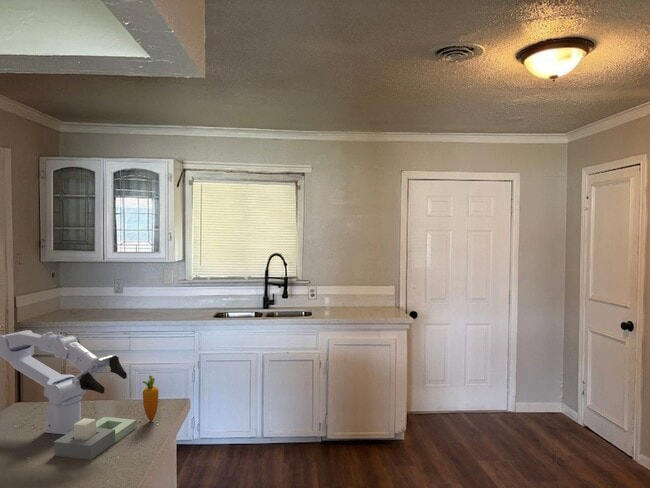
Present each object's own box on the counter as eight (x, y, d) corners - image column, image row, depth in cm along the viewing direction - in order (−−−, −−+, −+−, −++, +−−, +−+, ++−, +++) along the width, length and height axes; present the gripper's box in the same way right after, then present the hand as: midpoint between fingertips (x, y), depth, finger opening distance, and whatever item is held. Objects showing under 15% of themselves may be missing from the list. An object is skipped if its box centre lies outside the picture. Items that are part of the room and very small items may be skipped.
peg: (74, 444, 125) (73, 424, 125) (84, 438, 129) (84, 418, 129) (86, 446, 124) (85, 425, 124) (96, 439, 128) (95, 419, 128)
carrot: (153, 425, 142) (152, 379, 141) (140, 424, 143) (139, 378, 142) (162, 418, 147) (161, 374, 146) (149, 417, 148) (148, 373, 147)
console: (91, 459, 121) (90, 445, 120) (54, 455, 123) (53, 441, 123) (136, 427, 140) (136, 415, 140) (103, 424, 143) (103, 412, 142)
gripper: (61, 363, 128) (92, 388, 123) (105, 339, 140) (135, 360, 135) (62, 380, 131) (92, 405, 127) (105, 355, 143) (134, 377, 139)
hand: (114, 383), depth 131 cm, fingers open, 7 cm apart
